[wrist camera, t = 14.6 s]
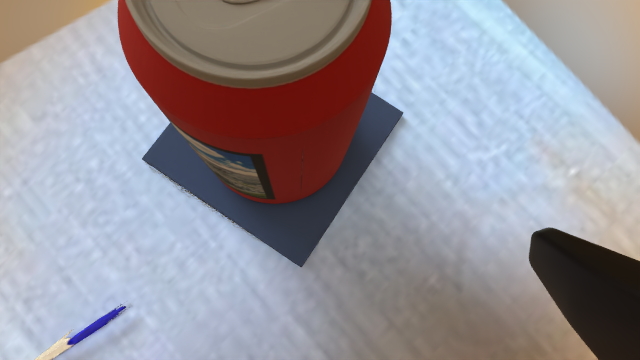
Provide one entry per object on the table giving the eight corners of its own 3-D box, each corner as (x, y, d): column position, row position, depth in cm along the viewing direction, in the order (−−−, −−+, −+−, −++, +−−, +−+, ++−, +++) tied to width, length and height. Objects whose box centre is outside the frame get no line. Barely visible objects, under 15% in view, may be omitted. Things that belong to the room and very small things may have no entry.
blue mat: (402, 114, 22) (403, 112, 21) (301, 267, 20) (301, 267, 20) (254, 20, 22) (253, 17, 22) (143, 160, 20) (141, 158, 20)
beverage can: (187, 96, 21) (48, -128, 9) (318, 55, 22) (342, -199, 10) (230, 228, 20) (132, 161, 8) (367, 179, 21) (460, 53, 9)
